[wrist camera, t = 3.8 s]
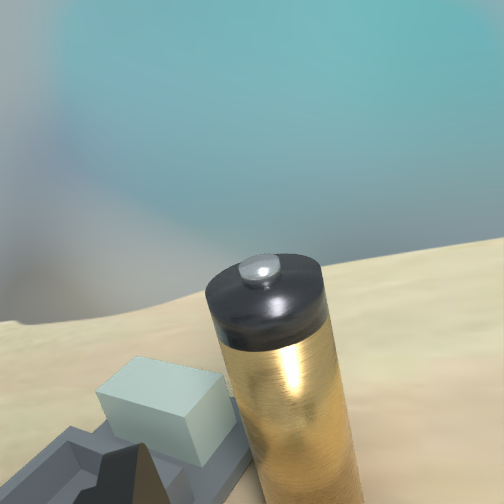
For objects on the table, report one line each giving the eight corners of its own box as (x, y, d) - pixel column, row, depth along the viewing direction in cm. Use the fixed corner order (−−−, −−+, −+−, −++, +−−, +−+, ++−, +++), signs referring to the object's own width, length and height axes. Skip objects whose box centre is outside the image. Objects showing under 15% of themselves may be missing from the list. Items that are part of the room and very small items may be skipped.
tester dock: (71, 730, 19) (21, 658, 17) (-65, 600, 25) (-111, 537, 24) (279, 419, 32) (264, 360, 30) (154, 387, 39) (136, 337, 37)
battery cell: (342, 565, 22) (283, 297, 17) (252, 527, 25) (176, 287, 20) (376, 479, 26) (336, 239, 21) (294, 455, 29) (240, 238, 24)
